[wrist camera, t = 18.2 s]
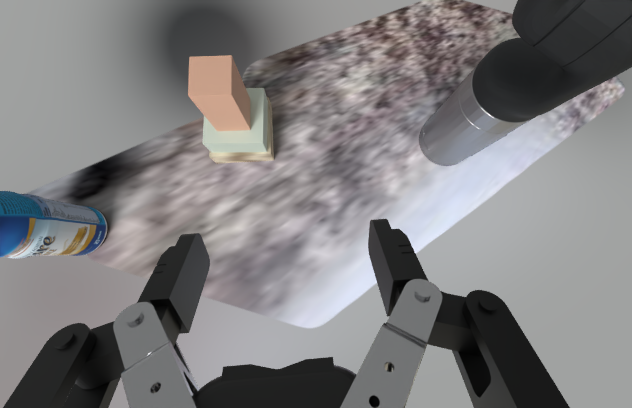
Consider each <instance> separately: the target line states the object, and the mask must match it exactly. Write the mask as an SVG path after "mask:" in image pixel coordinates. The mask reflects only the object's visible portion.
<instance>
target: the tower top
mask: <svg viewBox="0 0 632 408" xmlns="http://www.w3.org/2000/svg"><path fill="white" fill-rule="evenodd" d="M246 90H247V93H248V95H249V97H250V125H251V130H240V131H217V130H216V129H215V128H214V127H213V125H212V124H211V123H210V122H209V121H208V119H207V118H206V117H205V116H204V127H203V144H204V145H205V146H206V147H207V148H208V149H209V150H210V151H211V152H212V153H229V152H267V124H268V100H267V97H266V93H265V90H264V88H246Z"/></svg>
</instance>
